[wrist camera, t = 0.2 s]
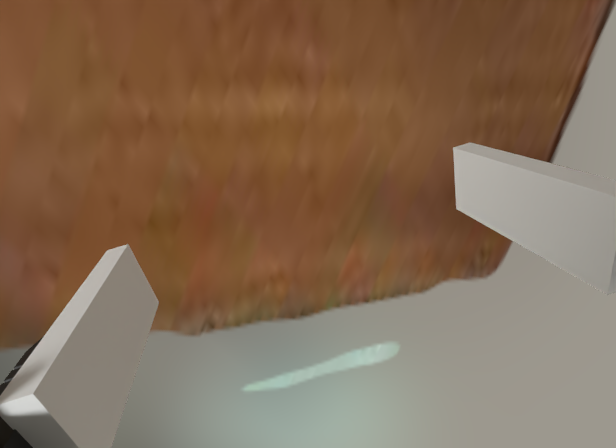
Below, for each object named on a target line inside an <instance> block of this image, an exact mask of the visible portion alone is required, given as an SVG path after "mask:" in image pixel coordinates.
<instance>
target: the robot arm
mask: <svg viewBox="0 0 616 448" xmlns="http://www.w3.org/2000/svg"><path fill="white" fill-rule="evenodd" d="M453 154H454V174H455V193H456V209H457V210H459V211H461V212H463V213H464V214H466V215H468V216H470V217H471V218H473V219H475V220H477V221H478V222H480V223H482V224H484V225H486V226H487V227H489V228H491V229H493V230H494V231H496V232H498V233H500V234H501V235H503V236H505V237H507V238H508V239H510V240H512V241H514V242H515V243H517V244H519V245H521V246H522V247H524V248H526V249H528V250H530V251H531V252H533V253H535V254H537V255H538V256H540V257H542V258H544V259H545V260H547V261H549V262H551V263H552V264H554V265H556V266H558V267H559V268H561V269H563V270H565V271H567V272H568V273H570V274H572V275H574V276H575V277H577V278H579V279H581V280H582V281H584V282H586V283H588V284H589V285H591V286H593V287H594V288H596V289H598V290H600V291H602V292H604V293H605V294H607V295H609V294H612V293H615V292H616V180H613V179H610V178H606V177H602V176H598V175H595V174H591V173H587V172H583V171H579V170H575V169H571V168H567V167H564V166H560V165H556V164H552V163H548V162H544V161H540V160H536V159H532V158H529V157H525V156H521V155H517V154H513V153H509V152H505V151H501V150H497V149H494V148H490V147H486V146H482V145H478V144H474V143H467V144H464V145H460V146H457V147H454V148H453ZM158 304H159V301H158V300H157V298H156V296H155V294H154V292H153V290H152V288H151V286H150V284H149V283H148V281H147V279H146V277H145V275H144V273H143V271H142V269H141V267H140V266H139V264H138V262H137V260H136V258H135V256H134V254H133V252H132V250H131V249H130V247H129V245H128V244H127V245H124V246H120V247H117V248H114V249H110V250H107V251H106V253H105V254H104V256H103V257H102V258H101V260H100V261H99V262H98V264H97V265H96V266H95V268H94V269H93V270H92V272H91V273H90V275H89V276H88V277H87V279H86V280H85V281H84V283H83V284H82V285H81V287H80V288H79V289H78V291H77V292H76V294H75V295H74V296H73V298H72V299H71V300H70V302H69V303H68V304H67V306H66V307H65V308H64V310H63V311H62V313H61V314H60V315H59V317H58V318H57V319H56V321H55V322H54V323H53V325H52V326H51V327H50V329H49V330H48V332H47V333H46V334H45V336H43V337H42V338H41V339H40V340H39V341H38V342H37V343H35V344H34V345H33V346H32V347H31V348H30V349H29V350H28V351H26V353H25V354H24V355H23V356H22V358H21V359H20V360H19V362H18V363H17V364H16V366H15V367H14V368H15V370H12V371H11V372H10V373H9V375H8V376H7V377H6V379H5V380H4V381H5V383H3V384H1V385H0V448H111V447H112V444H113V441H114V438H115V435H116V432H117V429H118V426H119V422H120V420H121V416H122V414H123V410H124V407H125V404H126V401H127V398H128V395H129V392H130V389H131V386H132V383H133V380H134V377H135V374H136V371H137V368H138V365H139V362H140V359H141V356H142V353H143V350H144V347H145V344H146V341H147V338H148V335H149V332H150V329H151V326H152V322H153V319H154V316H155V313H156V310H157V307H158Z"/></svg>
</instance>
